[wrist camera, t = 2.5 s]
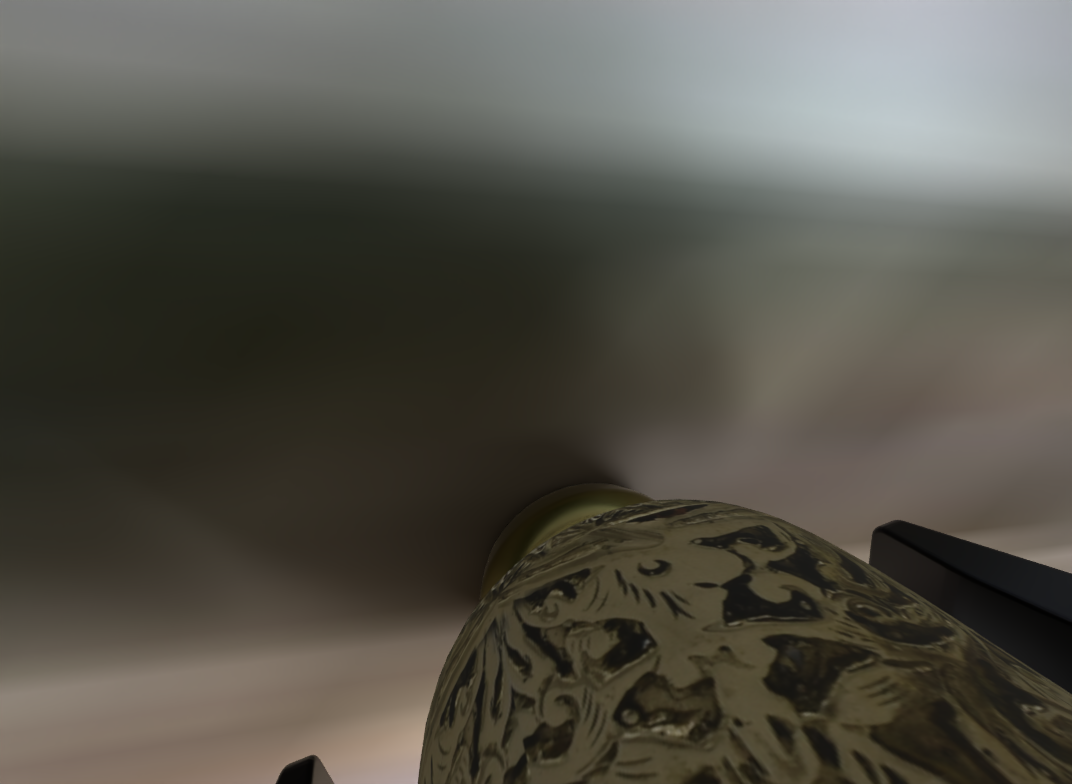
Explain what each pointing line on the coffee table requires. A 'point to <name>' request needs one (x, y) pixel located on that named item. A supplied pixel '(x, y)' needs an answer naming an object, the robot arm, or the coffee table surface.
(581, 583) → the dark brown ornate lampshade
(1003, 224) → the coffee table surface
